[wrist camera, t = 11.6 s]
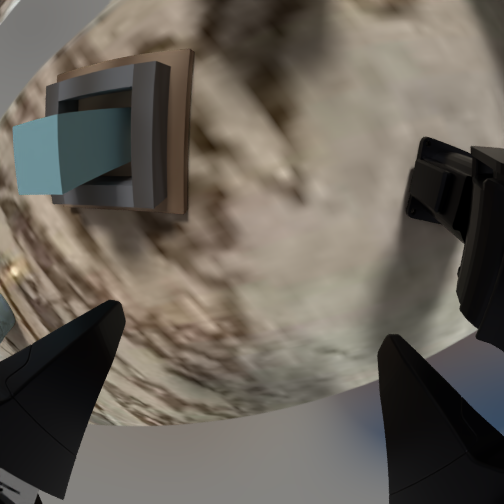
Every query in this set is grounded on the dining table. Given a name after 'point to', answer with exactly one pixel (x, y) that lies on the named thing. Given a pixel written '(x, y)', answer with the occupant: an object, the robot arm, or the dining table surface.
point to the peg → (70, 149)
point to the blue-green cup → (5, 318)
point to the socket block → (135, 129)
